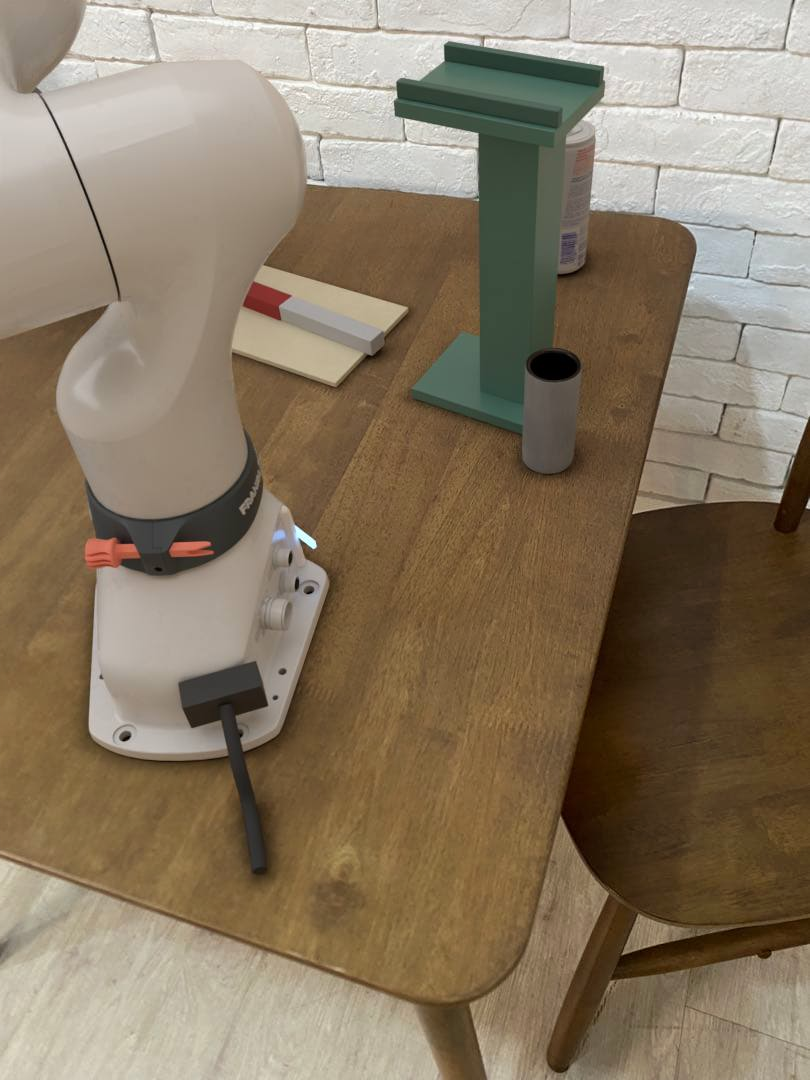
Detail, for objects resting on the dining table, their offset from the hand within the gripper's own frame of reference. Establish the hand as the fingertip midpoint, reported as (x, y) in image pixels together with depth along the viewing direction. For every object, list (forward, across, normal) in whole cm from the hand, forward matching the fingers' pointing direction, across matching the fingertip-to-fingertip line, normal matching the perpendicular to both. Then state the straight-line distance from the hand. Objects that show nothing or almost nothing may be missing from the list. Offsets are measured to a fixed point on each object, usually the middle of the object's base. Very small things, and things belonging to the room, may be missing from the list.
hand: (170, 110), depth 88 cm
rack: (+20, 0, +35) cm, 40 cm away
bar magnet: (0, 0, +23) cm, 23 cm away
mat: (-3, 0, +22) cm, 22 cm away
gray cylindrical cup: (+27, -7, +39) cm, 48 cm away
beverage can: (+16, +22, +33) cm, 43 cm away
